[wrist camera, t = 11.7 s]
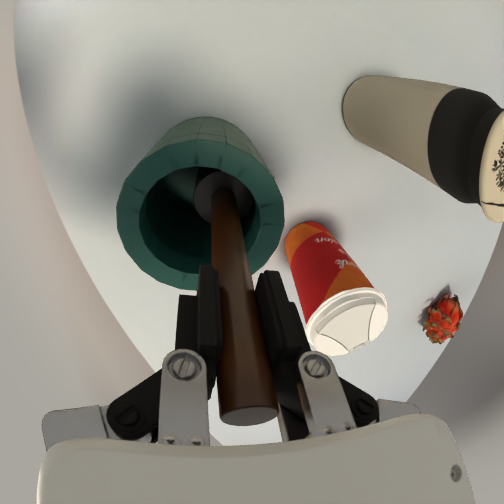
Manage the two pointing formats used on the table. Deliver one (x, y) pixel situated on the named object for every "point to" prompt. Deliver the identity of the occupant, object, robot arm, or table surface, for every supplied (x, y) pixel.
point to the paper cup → (333, 292)
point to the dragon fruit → (443, 319)
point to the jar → (182, 205)
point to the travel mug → (434, 134)
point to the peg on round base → (236, 303)
